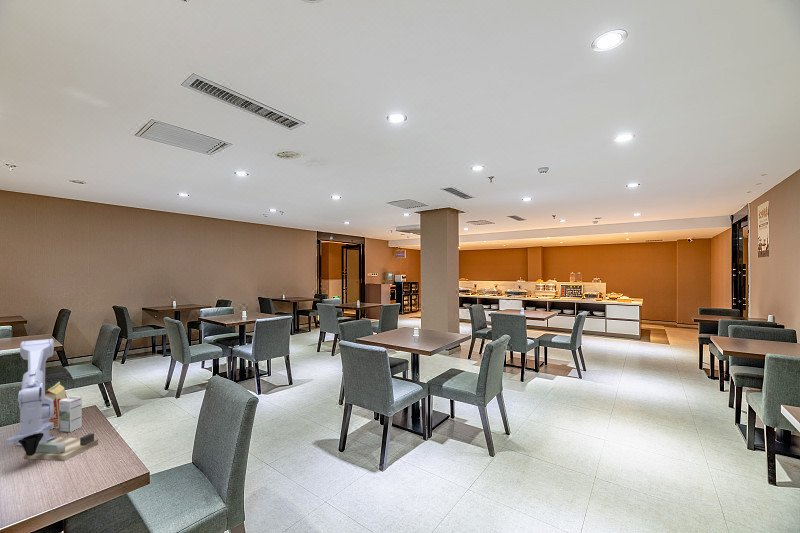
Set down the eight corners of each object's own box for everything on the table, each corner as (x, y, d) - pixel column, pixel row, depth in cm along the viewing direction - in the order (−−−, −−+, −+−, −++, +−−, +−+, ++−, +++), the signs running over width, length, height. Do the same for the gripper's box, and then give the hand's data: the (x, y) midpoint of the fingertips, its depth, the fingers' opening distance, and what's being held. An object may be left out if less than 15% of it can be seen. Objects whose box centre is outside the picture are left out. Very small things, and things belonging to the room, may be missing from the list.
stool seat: (23, 458, 140) (23, 445, 140) (60, 441, 153) (60, 430, 153) (64, 460, 138) (64, 447, 138) (98, 443, 151) (98, 432, 151)
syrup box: (82, 427, 168) (82, 396, 168) (69, 432, 162) (69, 400, 162) (71, 426, 168) (71, 395, 168) (58, 432, 162) (58, 400, 162)
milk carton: (52, 422, 173) (53, 380, 174) (73, 421, 174) (73, 380, 175) (35, 430, 164) (35, 386, 165) (56, 429, 165) (57, 386, 165)
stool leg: (66, 450, 141) (66, 441, 141) (60, 453, 139) (60, 444, 139) (38, 448, 143) (38, 440, 143) (31, 451, 140) (31, 443, 140)
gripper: (17, 427, 128) (17, 465, 128) (60, 411, 143) (60, 446, 143) (0, 426, 129) (0, 464, 129) (45, 411, 144) (44, 445, 143)
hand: (30, 454), depth 136 cm, fingers closed
